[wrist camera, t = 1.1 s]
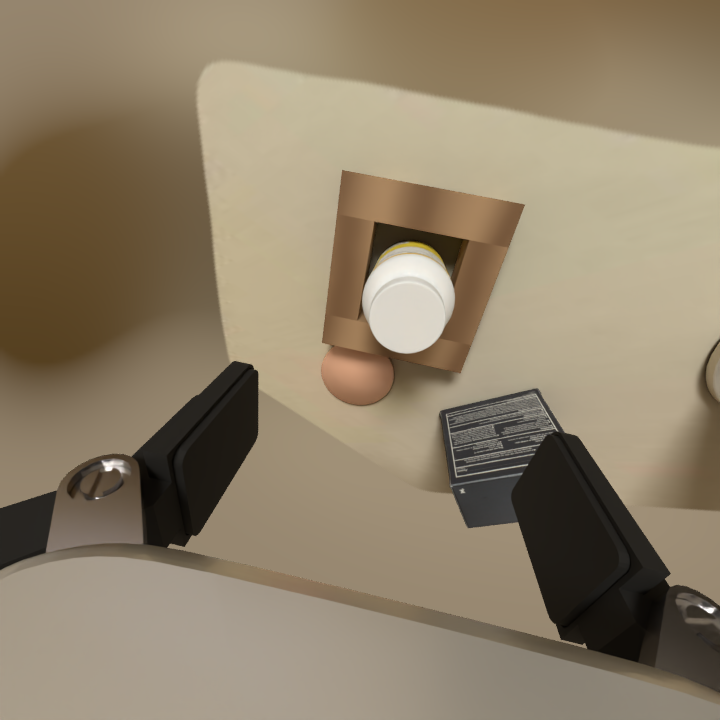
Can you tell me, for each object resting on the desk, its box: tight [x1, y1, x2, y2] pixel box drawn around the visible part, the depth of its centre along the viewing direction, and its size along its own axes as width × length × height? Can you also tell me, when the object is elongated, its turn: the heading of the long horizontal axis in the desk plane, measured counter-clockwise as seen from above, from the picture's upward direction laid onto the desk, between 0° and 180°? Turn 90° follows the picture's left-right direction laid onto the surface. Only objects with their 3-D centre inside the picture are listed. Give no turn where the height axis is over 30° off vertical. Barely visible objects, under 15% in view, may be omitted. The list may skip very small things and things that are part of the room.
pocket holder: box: [322, 170, 525, 373], centre depth 28 cm, size 14×14×3 cm
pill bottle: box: [362, 240, 455, 354], centre depth 24 cm, size 6×6×12 cm
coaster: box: [321, 346, 394, 405], centre depth 35 cm, size 8×8×1 cm
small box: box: [439, 389, 565, 528], centre depth 31 cm, size 11×6×10 cm, turn 113°
